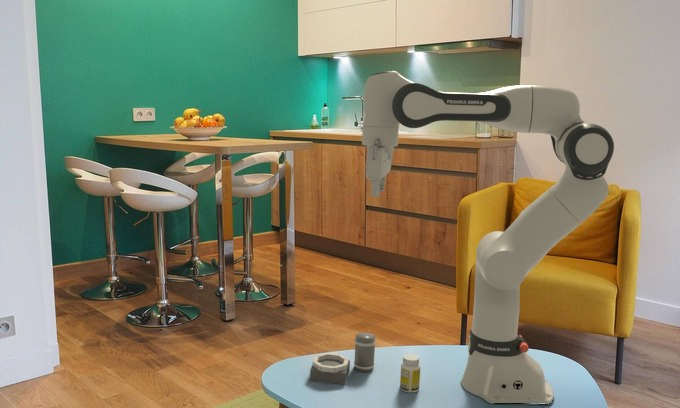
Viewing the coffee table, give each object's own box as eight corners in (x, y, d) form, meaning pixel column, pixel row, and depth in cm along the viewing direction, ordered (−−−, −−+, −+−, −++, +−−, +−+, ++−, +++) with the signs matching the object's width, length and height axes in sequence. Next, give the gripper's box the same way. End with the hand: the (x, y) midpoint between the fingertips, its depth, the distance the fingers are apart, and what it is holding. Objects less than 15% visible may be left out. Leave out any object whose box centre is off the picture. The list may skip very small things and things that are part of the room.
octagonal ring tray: (349, 370, 166) (350, 355, 165) (344, 385, 157) (345, 369, 157) (316, 366, 167) (316, 351, 167) (309, 381, 159) (310, 365, 158)
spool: (375, 365, 170) (376, 333, 168) (372, 373, 164) (374, 341, 163) (355, 363, 170) (356, 331, 169) (352, 371, 165) (354, 339, 164)
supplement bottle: (418, 385, 159) (420, 353, 158) (419, 394, 154) (421, 361, 153) (399, 383, 159) (401, 352, 158) (399, 392, 155) (401, 360, 153)
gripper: (387, 140, 144) (385, 200, 146) (397, 137, 163) (394, 190, 165) (360, 139, 145) (358, 199, 147) (373, 136, 165) (371, 188, 167)
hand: (377, 194), depth 156 cm, fingers open, 8 cm apart
